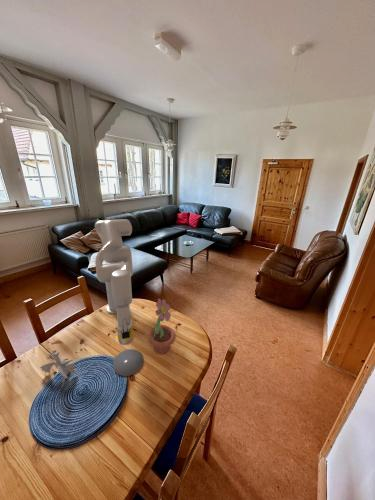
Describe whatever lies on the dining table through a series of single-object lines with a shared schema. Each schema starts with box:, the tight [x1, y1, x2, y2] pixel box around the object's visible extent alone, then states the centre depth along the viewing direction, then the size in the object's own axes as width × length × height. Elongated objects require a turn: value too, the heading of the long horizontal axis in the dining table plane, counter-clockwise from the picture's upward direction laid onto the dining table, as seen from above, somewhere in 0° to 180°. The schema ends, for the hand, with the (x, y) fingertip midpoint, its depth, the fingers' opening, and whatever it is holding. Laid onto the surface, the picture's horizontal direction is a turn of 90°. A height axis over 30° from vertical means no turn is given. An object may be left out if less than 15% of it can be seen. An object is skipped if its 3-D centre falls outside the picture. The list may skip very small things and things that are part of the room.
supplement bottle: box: [116, 319, 135, 346], centre depth 91 cm, size 7×7×13 cm
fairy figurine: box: [39, 349, 78, 387], centre depth 88 cm, size 10×18×14 cm, turn 64°
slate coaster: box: [112, 348, 144, 377], centre depth 99 cm, size 14×14×1 cm
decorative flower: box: [147, 298, 176, 355], centre depth 101 cm, size 15×14×30 cm
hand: (125, 331), depth 91 cm, fingers closed on supplement bottle, 6 cm apart
